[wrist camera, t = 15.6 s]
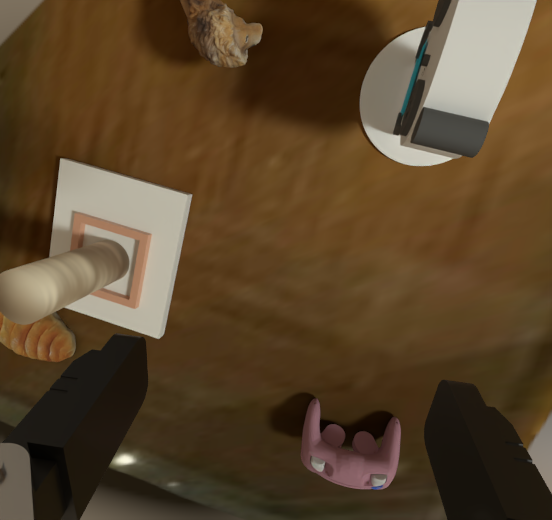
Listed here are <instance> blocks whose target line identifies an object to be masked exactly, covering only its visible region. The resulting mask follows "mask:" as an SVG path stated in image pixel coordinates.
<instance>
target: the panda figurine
mask: <svg viewBox="0 0 552 520" xmlns="http://www.w3.org/2000/svg"><path fill="white" fill-rule="evenodd" d="M536 1H537V0H439V1H438V4H437V8H436V11H435V15H434V19H433V21H428V23H427V25H426V27H422V28H418V29H415V30H412V31H409V32H407V33H405V34H403V35H401V36H399V37H398V38H396V39H395V40H393V41H392V42H390V43H389V44H388V45H387V46H386V47H385V48H384V49H383V50H382V51H381V52H380V53H379V54H378V55H377V57H376V58H375V59H374V61H373V62H372V64H371V65H370V67H369V69H368V71H367V73H366V75H365V78H364V81H363V84H362V88H361V93H360V115H361V120H362V124H363V127H364V129H365V132H366V134H367V136H368V137H369V139H370V141H371V142H372V143H373V144H374V146H375V147H376V148H377V149H378V150H379V151H380V152H382V153H383V154H384V155H386V156H387V157H389V158H390V159H392V160H394V161H397V162H399V163H402V164H406V165H412V166H430V165H436V164H440V163H443V162H446V161H449V160H451V159H453V158H454V159H457V158H459V157H461V156H467V157H471V158H472V157H474V156H476V155H477V153H478V152H479V151H480V149H481V147H482V145H483V143H484V140H485V138H486V135H487V132H488V128H489V123H490V121H491V119H492V116H493V114H494V112H495V110H496V108H497V106H498V104H499V101H500V99H501V97H502V95H503V92H504V90H505V88H506V85H507V83H508V81H509V78H510V76H511V73H512V71H513V68H514V66H515V63H516V60H517V58H518V55H519V53H520V50H521V47H522V44H523V42H524V39H525V36H526V33H527V30H528V27H529V24H530V21H531V18H532V14H533V11H534V8H535V4H536Z"/></svg>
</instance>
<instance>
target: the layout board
mask: <svg viewBox="0 0 552 520" xmlns="http://www.w3.org/2000/svg"><path fill="white" fill-rule="evenodd" d="M191 198H192V194H190V193H186V192H183V191H179V190H176V189H172V188H169V187H165V186H162V185H158V184H155V183H151V182H148V181H144V180H141V179H138V178H134V177H131V176H127V175H124V174H120V173H117V172H113V171H110V170H106V169H103V168H99V167H96V166H92V165H89V164H85V163H82V162H78V161H75V160H72V159H66V158H60V167H59V175H58V184H57V193H56V202H55V211H54V219H53V228H52V237H51V246H50V255H49V257H52V256H55V255H59V254H62V253H65V252H68V251H71V250H74V249H78V248H81V247H84V246H87V245H90V244H94V243H97V242H100V241H103V240H112V241H115V242H117V243H119V244H120V245H121V246H122V247H123V248H124V249H125V250H126V252H127V254H128V257H129V270H128V272H127V274H126V275H125V276H124V277H123V278H121V279H119V280H117V281H115V282H113V283H111V284H109V285H107V286H105V287H103V288H101V289H99V290H97V291H95V292H93V293H91V294H89V295H87V296H85V297H83V298H81V299H79V300H77V301H75V302H73V303H71V304H69V305H67V306H65V308H68V309H71V310H74V311H77V312H80V313H83V314H86V315H89V316H92V317H95V318H98V319H101V320H104V321H107V322H110V323H113V324H116V325H119V326H122V327H125V328H128V329H131V330H134V331H137V332H140V333H143V334H146V335H149V336H152V337H155V338H158V339H159V338H160V337H162V336H163V335H164V331H165V326H166V321H167V317H168V312H169V307H170V302H171V297H172V292H173V287H174V282H175V277H176V272H177V267H178V262H179V258H180V253H181V248H182V243H183V238H184V233H185V228H186V223H187V218H188V213H189V208H190V203H191Z"/></svg>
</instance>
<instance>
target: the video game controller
mask: <svg viewBox="0 0 552 520" xmlns="http://www.w3.org/2000/svg"><path fill="white" fill-rule="evenodd" d="M319 425H320V404H319V401H318V399H317V398H314V399H313V400H312V401H311V402H310V404H309V407H308V410H307V413H306V417H305V422H304V426H303V434H302V447H301V460H302V462H303V464H304V465H305V466H306V467H307V468H308V469H309V470H310V471H312V472H315V473H317V474H319V475H320V476H322V477H323V478H325V479H327V480H329V481H331V482H333V483H336V484H339V485H342V486H345V487H350V488H356V489H384V488H386V487H388V486H389V485H390V483H391V481H392V480H393V478H394V477H395V474H396V470H397V466H398V460H399V451H400V436H401V429H400V423H399V420H398V419H397V417H392V418H391V420H390V421H389V423H388V425H387V427H386V430H385V433H384V436H383V440H382V445H381V447H380V448H378V446H377V444H376V442H375V440H374V438H373V436H372V435H371V434H370V433H368V432H365V431H361V432H358V433H356V435H355V436H354V439H353V442H352V447H353V450H354V451H350V450H346V449H342V448H341V446H342V444H343V442H344V440H345V432H344V430H343V429H342V428H341V427H340V426H338V425H336V424H330V425H328V426H327V427H326V428H325V430H324V431H323V432H322V433H320V426H319Z"/></svg>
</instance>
